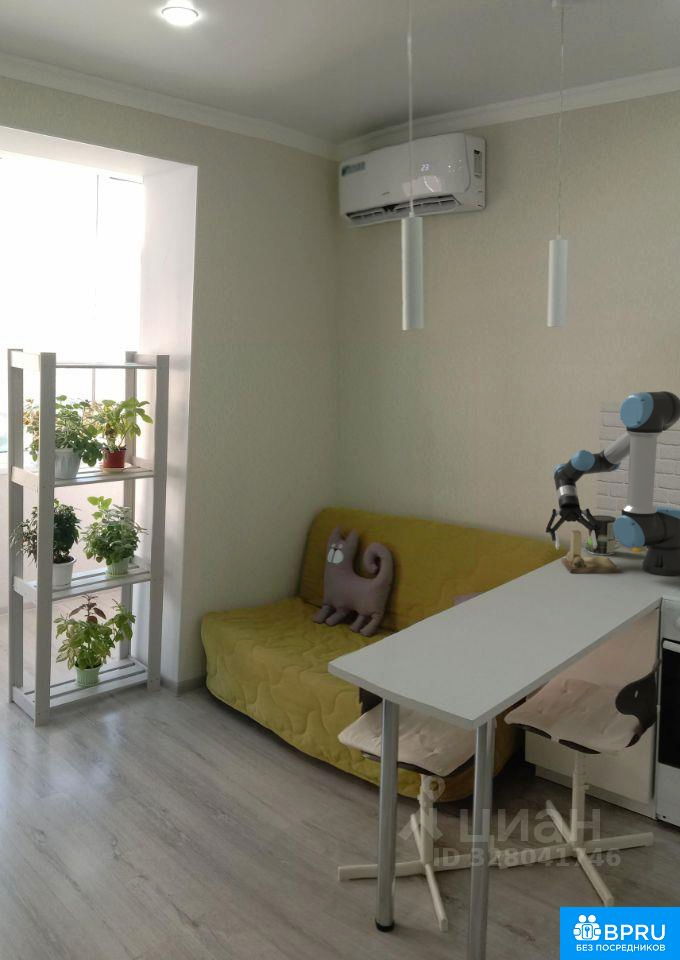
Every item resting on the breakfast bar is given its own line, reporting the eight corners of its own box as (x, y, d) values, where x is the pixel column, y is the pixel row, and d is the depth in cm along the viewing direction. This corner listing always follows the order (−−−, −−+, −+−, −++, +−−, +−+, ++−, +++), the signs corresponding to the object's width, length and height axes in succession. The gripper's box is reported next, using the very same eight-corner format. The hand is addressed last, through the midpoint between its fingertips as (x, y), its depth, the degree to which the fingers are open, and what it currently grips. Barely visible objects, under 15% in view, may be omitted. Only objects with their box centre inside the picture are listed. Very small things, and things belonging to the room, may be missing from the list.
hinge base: (608, 561, 309) (608, 548, 308) (619, 572, 293) (620, 558, 292) (561, 562, 310) (561, 549, 309) (570, 573, 294) (570, 559, 293)
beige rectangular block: (579, 561, 304) (579, 530, 302) (582, 565, 299) (583, 533, 297) (568, 561, 304) (568, 530, 303) (571, 565, 299) (571, 533, 298)
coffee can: (594, 556, 318) (594, 520, 316) (583, 550, 328) (584, 515, 326) (619, 554, 319) (620, 519, 317) (608, 549, 329) (608, 514, 327)
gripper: (599, 505, 314) (609, 552, 301) (534, 506, 315) (540, 553, 303) (603, 493, 308) (613, 541, 295) (536, 494, 309) (543, 542, 297)
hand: (576, 547), depth 299 cm, fingers open, 13 cm apart
